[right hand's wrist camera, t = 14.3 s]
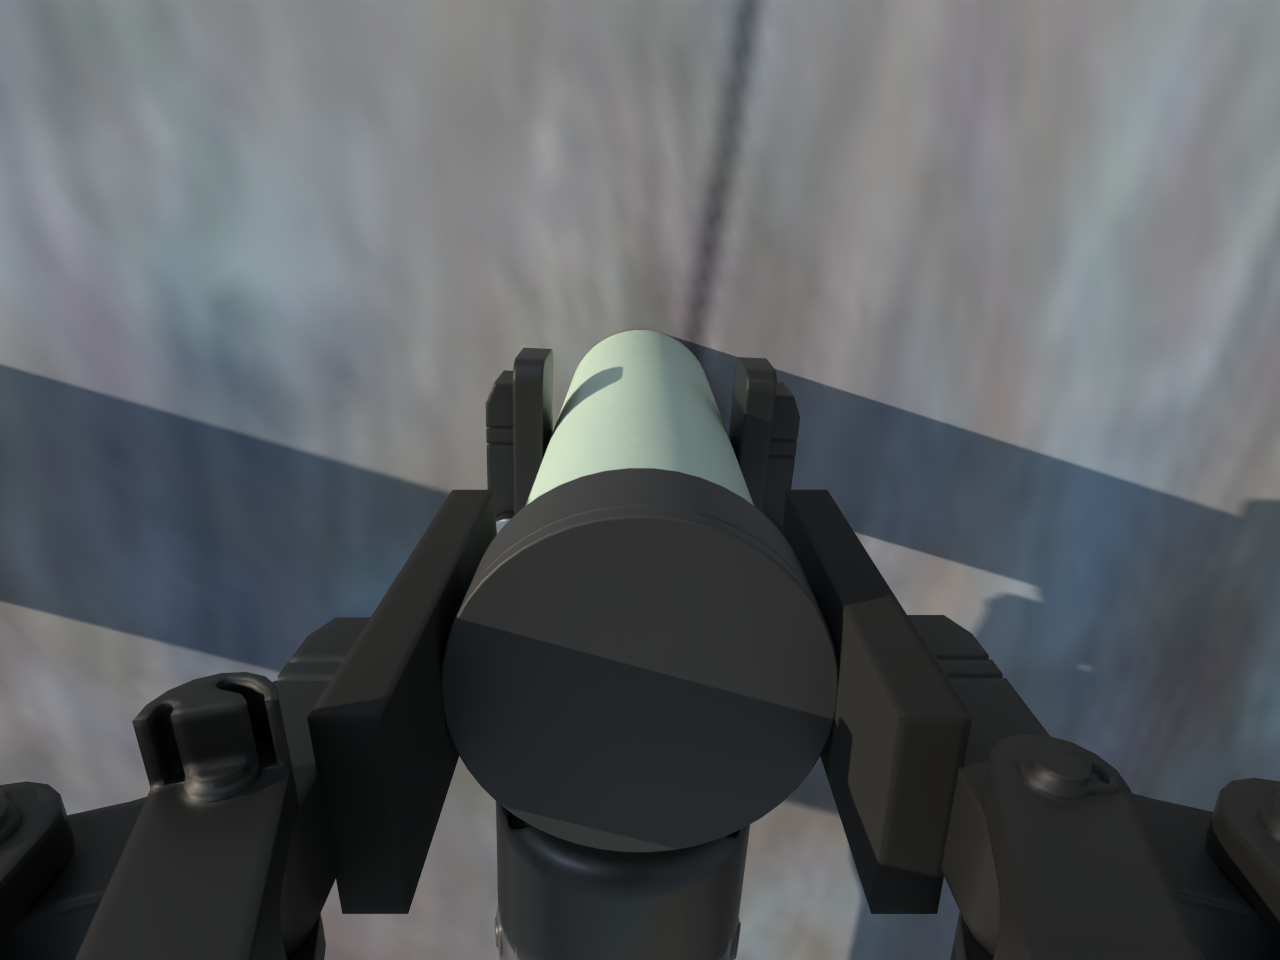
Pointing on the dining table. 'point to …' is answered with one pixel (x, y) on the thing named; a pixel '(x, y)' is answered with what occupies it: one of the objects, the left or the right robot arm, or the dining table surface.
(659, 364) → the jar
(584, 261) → the dining table surface
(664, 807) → the lid
